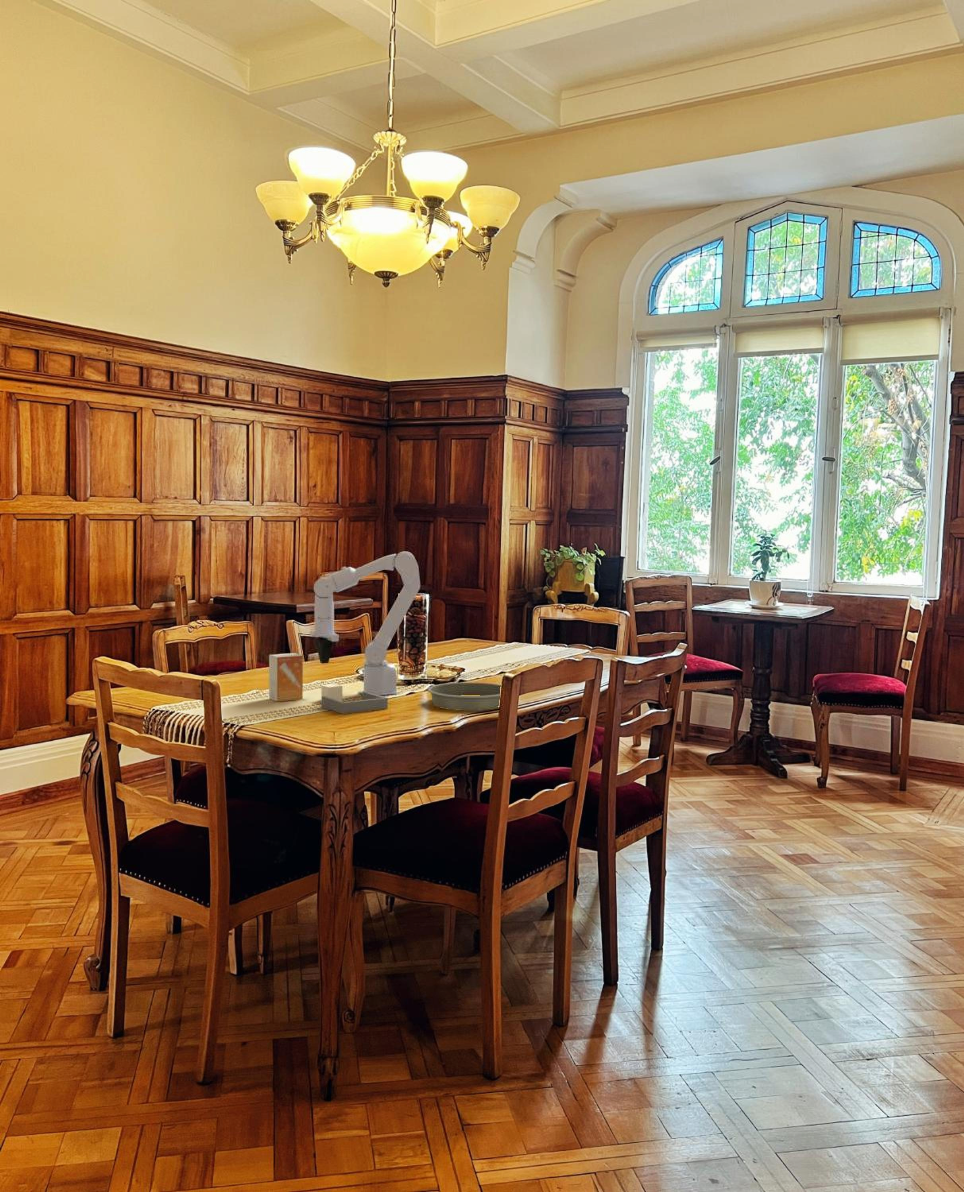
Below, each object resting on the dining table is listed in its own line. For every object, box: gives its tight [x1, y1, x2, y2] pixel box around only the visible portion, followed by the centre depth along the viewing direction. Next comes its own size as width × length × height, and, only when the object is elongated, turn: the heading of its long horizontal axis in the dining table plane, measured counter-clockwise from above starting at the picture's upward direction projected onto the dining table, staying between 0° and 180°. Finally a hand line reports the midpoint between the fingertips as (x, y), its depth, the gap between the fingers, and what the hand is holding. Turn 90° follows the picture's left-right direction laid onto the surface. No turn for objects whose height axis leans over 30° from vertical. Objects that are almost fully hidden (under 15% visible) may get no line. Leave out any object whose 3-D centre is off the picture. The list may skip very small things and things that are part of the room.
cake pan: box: [427, 681, 502, 711], centre depth 290 cm, size 25×25×4 cm
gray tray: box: [321, 692, 389, 715], centre depth 281 cm, size 14×12×3 cm
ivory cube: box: [320, 683, 344, 702], centre depth 292 cm, size 4×4×4 cm
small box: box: [268, 652, 304, 703], centre depth 294 cm, size 8×6×13 cm
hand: (324, 663), depth 302 cm, fingers closed
